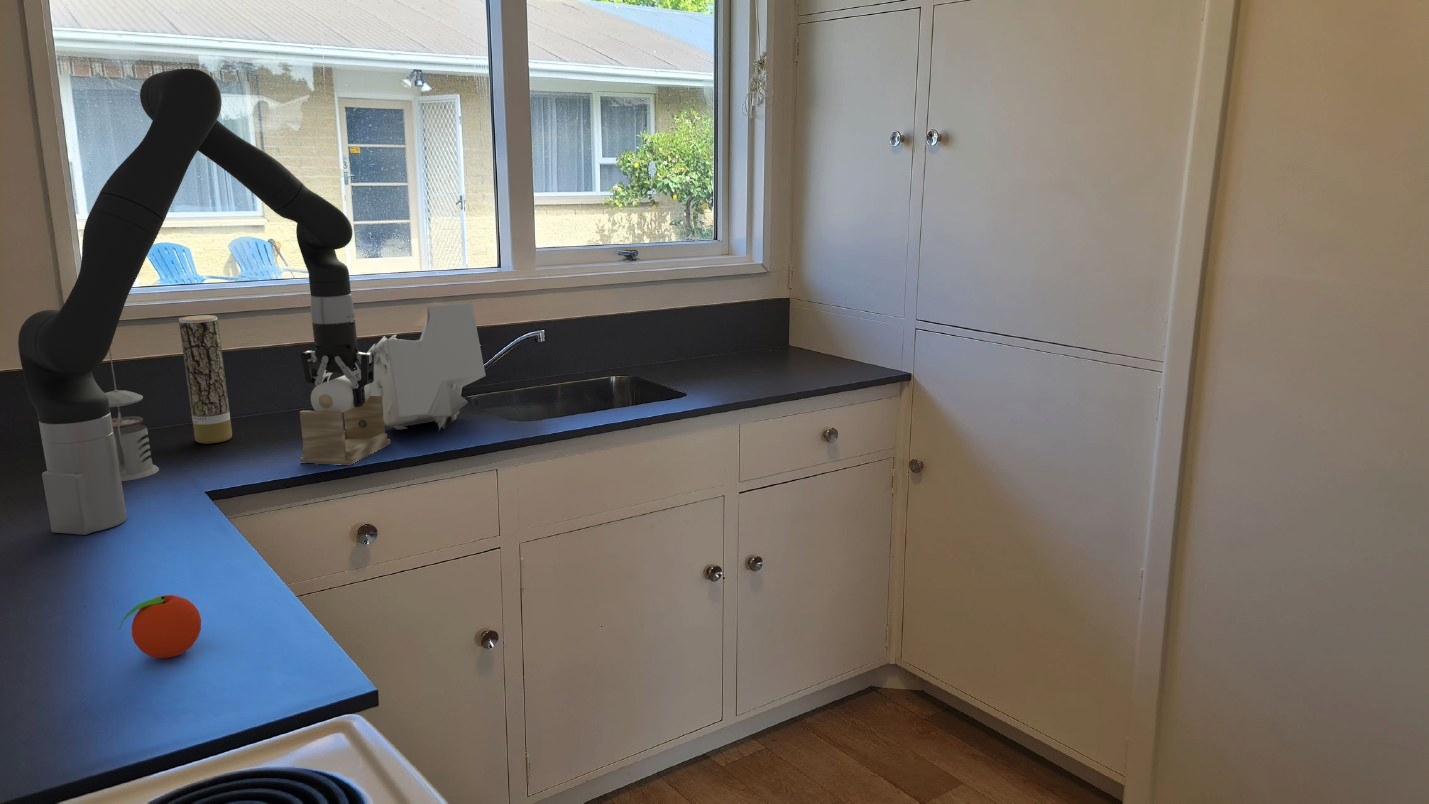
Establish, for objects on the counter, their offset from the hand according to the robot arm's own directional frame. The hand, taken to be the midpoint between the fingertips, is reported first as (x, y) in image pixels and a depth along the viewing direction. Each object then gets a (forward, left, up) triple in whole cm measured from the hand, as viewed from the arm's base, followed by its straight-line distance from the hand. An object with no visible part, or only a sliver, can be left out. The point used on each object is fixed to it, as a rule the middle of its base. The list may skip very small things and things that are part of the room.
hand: (342, 405), depth 187 cm
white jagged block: (+21, -6, -10) cm, 24 cm away
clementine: (-77, -24, -10) cm, 81 cm away
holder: (0, 0, -9) cm, 9 cm away
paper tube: (+4, +32, -10) cm, 34 cm away
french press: (-19, +32, -10) cm, 38 cm away
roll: (0, 0, -1) cm, 1 cm away
